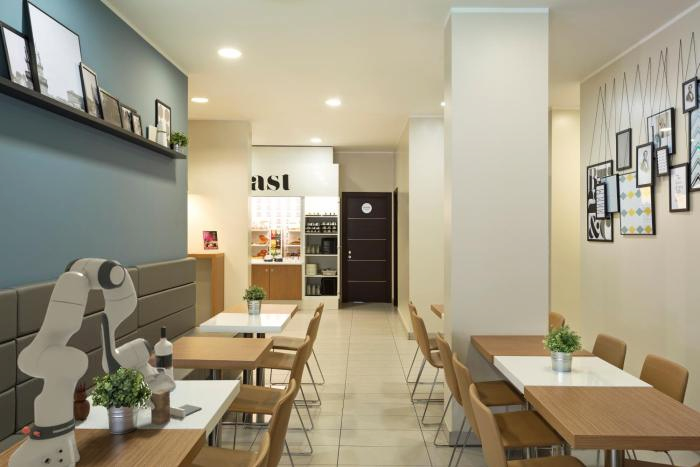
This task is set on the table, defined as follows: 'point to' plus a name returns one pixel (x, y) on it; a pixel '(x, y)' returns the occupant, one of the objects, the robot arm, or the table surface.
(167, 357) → the vodka
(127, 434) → the table surface
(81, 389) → the wooden figurine
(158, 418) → the walnut block
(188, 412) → the coaster
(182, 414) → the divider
